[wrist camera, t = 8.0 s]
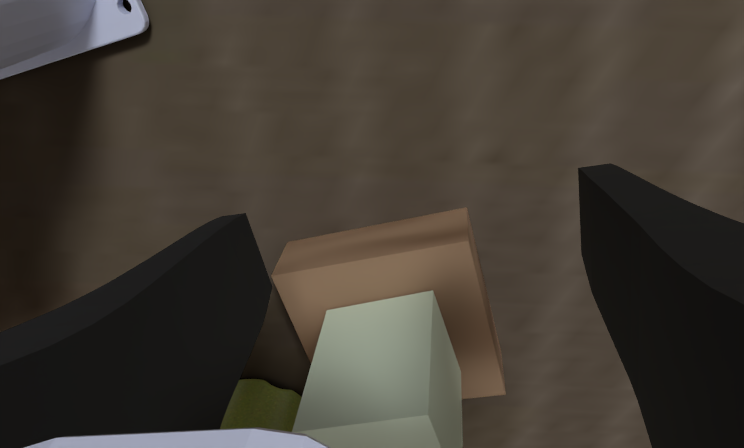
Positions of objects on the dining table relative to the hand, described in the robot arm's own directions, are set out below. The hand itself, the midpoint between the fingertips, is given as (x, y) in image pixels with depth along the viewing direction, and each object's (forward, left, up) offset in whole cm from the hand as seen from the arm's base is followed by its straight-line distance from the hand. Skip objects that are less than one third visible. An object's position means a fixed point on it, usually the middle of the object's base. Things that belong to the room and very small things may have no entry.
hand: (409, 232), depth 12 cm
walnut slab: (+9, -4, -10) cm, 14 cm away
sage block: (+9, -4, -7) cm, 12 cm away
